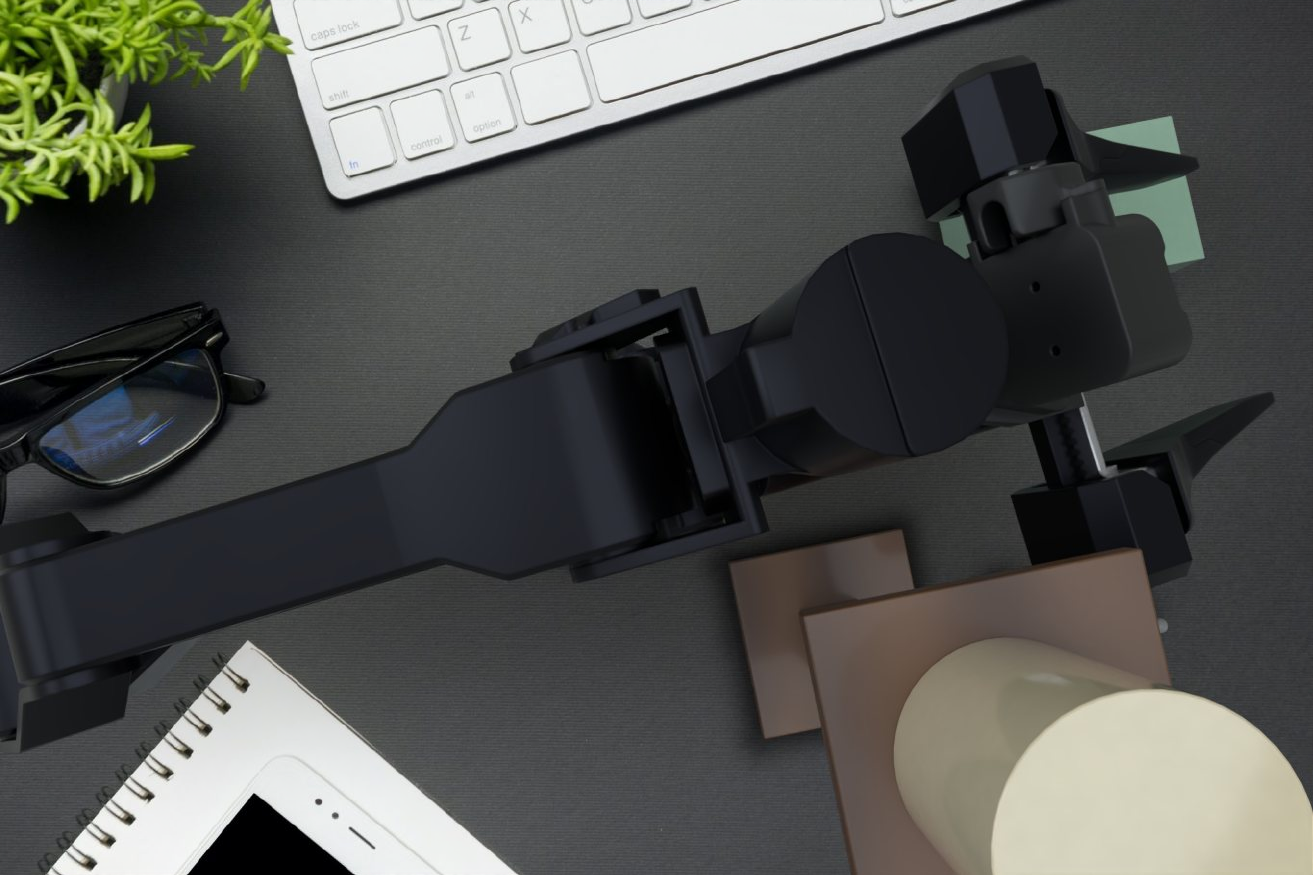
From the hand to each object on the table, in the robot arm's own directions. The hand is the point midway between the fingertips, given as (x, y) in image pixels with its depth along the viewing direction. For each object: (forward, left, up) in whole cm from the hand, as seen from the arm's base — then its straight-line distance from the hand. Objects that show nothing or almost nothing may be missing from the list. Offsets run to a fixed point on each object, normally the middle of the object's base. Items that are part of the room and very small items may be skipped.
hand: (1229, 281), depth 41 cm
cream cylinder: (-15, -12, +12) cm, 23 cm away
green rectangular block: (0, +6, -16) cm, 17 cm away
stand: (-15, -12, -16) cm, 25 cm away
